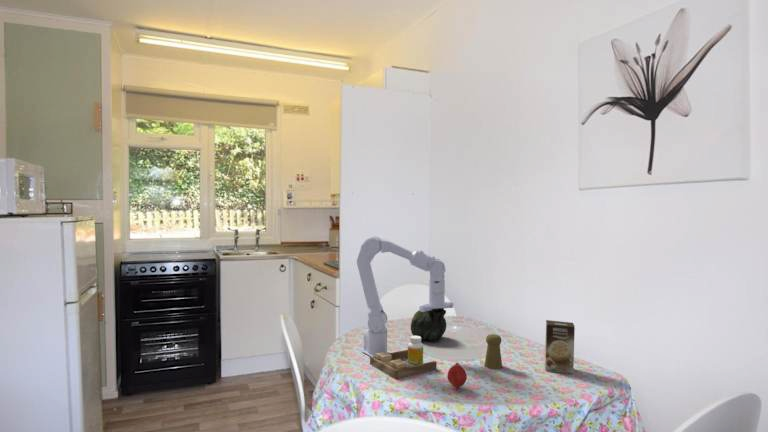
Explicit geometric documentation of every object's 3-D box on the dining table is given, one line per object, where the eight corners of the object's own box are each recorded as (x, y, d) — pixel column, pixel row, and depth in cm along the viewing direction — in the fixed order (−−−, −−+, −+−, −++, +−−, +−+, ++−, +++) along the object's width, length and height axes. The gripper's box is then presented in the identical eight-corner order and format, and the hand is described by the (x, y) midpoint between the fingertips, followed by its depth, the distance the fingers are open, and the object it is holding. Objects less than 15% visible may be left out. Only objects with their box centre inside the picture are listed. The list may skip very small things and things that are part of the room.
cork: (502, 370, 151) (503, 337, 151) (484, 368, 152) (485, 336, 152) (501, 364, 157) (502, 333, 157) (484, 362, 158) (484, 332, 158)
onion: (445, 384, 138) (445, 359, 138) (463, 384, 138) (463, 358, 138) (449, 392, 132) (450, 365, 132) (468, 391, 133) (469, 365, 132)
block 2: (389, 373, 148) (389, 361, 148) (399, 370, 150) (399, 359, 150) (397, 376, 144) (397, 364, 144) (406, 374, 147) (406, 362, 147)
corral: (369, 364, 156) (370, 357, 156) (409, 356, 165) (409, 349, 165) (395, 378, 142) (395, 371, 142) (436, 369, 151) (436, 361, 151)
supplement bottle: (420, 368, 152) (420, 340, 152) (405, 365, 154) (405, 338, 154) (425, 363, 157) (425, 336, 157) (410, 361, 159) (411, 334, 159)
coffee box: (544, 371, 151) (545, 324, 150) (544, 365, 157) (545, 319, 156) (574, 374, 148) (574, 326, 147) (572, 368, 154) (573, 322, 153)
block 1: (375, 365, 155) (375, 353, 155) (385, 363, 158) (385, 351, 157) (381, 368, 152) (382, 356, 152) (391, 366, 154) (391, 354, 154)
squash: (412, 319, 198) (412, 299, 188) (446, 322, 196) (447, 301, 186) (409, 347, 188) (409, 327, 178) (445, 351, 186) (446, 330, 176)
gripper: (428, 296, 157) (427, 334, 157) (458, 292, 164) (458, 328, 165) (416, 292, 163) (415, 329, 163) (446, 289, 170) (446, 324, 170)
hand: (436, 329), depth 164 cm, fingers closed
